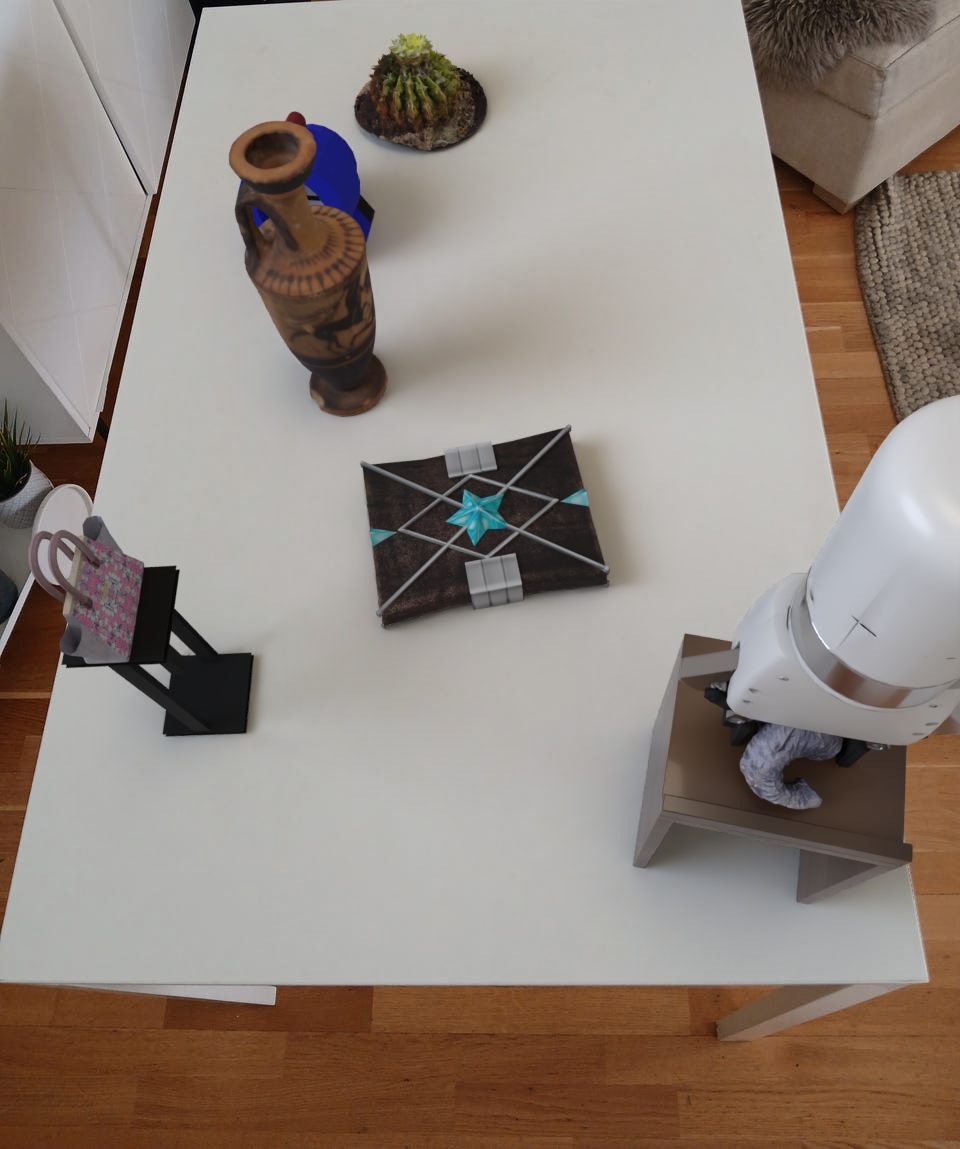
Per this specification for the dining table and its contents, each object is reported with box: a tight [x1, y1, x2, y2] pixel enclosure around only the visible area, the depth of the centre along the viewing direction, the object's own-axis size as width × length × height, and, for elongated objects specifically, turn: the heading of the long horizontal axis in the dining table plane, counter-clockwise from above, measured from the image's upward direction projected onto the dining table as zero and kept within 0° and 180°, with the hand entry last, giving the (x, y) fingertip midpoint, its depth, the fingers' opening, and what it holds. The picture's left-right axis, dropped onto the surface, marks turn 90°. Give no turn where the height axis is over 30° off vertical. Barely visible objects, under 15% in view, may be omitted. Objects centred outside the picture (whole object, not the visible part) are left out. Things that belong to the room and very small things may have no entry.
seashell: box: [739, 720, 843, 809], centre depth 54 cm, size 5×5×10 cm
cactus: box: [353, 32, 488, 151], centre depth 111 cm, size 17×16×10 cm
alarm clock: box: [237, 111, 376, 243], centre depth 101 cm, size 12×12×15 cm
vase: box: [228, 120, 388, 417], centre depth 84 cm, size 11×11×30 cm
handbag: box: [27, 515, 255, 738], centre depth 70 cm, size 10×8×30 cm
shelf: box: [632, 633, 914, 905], centre depth 65 cm, size 14×12×24 cm
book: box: [359, 423, 611, 630], centre depth 87 cm, size 22×17×5 cm
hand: (790, 731), depth 56 cm, fingers closed on seashell, 5 cm apart
